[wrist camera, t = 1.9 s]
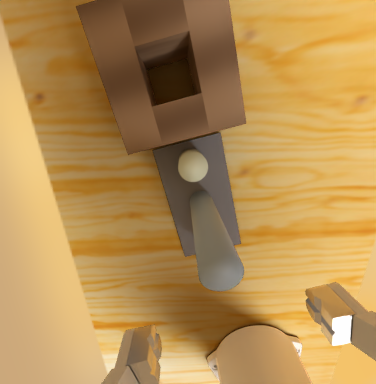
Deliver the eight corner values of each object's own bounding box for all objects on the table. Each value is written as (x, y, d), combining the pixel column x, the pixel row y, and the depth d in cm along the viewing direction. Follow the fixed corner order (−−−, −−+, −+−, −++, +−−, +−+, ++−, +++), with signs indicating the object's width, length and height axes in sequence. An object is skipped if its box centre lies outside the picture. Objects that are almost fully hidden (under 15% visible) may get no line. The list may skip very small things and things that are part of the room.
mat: (240, 242, 29) (241, 243, 28) (185, 255, 29) (185, 256, 29) (219, 132, 24) (220, 132, 23) (152, 150, 24) (152, 150, 24)
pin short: (205, 169, 25) (210, 177, 20) (182, 174, 25) (182, 185, 20) (199, 145, 24) (204, 148, 19) (175, 151, 24) (174, 156, 19)
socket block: (230, 125, 23) (246, 123, 18) (140, 149, 24) (128, 154, 18) (211, 10, 20) (223, -39, 14) (105, 41, 20) (76, 6, 14)
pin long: (214, 208, 26) (246, 285, 13) (192, 213, 27) (204, 295, 13) (209, 188, 25) (240, 249, 12) (187, 193, 26) (193, 260, 12)
